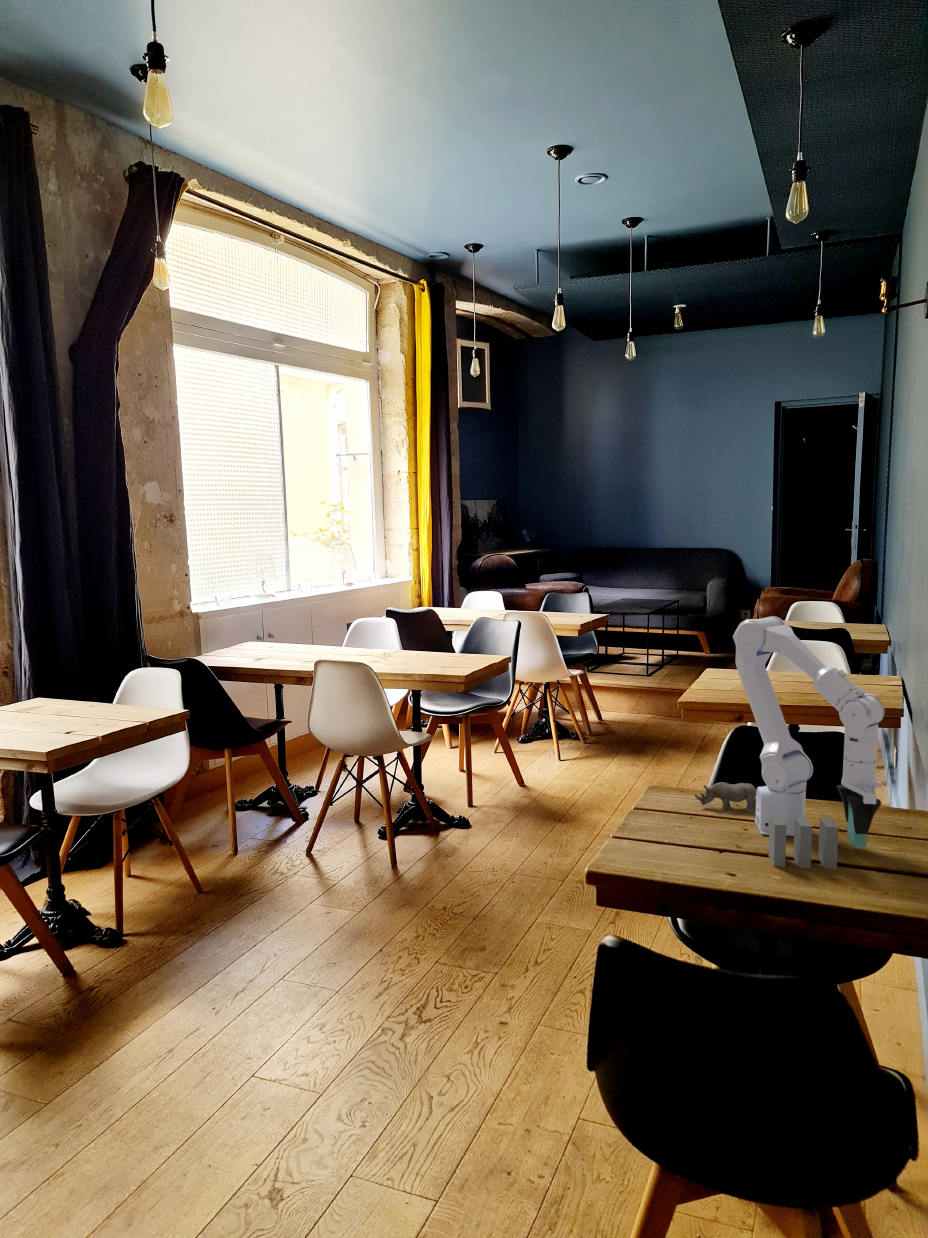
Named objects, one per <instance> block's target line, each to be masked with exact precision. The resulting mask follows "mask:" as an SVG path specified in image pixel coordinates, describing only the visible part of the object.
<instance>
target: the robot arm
mask: <svg viewBox="0 0 928 1238" xmlns="http://www.w3.org/2000/svg"><path fill="white" fill-rule="evenodd" d="M732 638H733V641H734V644H735V666H736V670H737V673H738V675H739V678H740V681H741V683H742V686H743V689H744V692H745V695H746V698H747V700H748V703H749V707H750V709H751V711H752V714H753V717H754V720H755V723H756V726H757V728H758V731H759V734H760V736H761V739H762V742H763V748H762V750H761V753H760V755H759V759H760V762H761V777H762V779H763V781H764V783H765V784H766V785H763V786H758V787H757V788H756V797H755V798H756V809H755V817H754V818H755V819H754V822H755V825H756V827H757V828H758V830H759V833H760V835H763V836H764V835H765V836H769V824H770V816H781V817H782V819H783V821H784V822H785V824H786V837H787V836H789V837H794V823H795V816H796V817H806V793H807V792H806V791H807V781H808V780H810V779H811V777H812V776H813V772H814V766H813V762H812V760H811V759H810V758H809V756H808V755H807V754H806V753H805V752H804V750H803V747H802V744H800V743H799V742H798V741H796V740H795V739H793V737H792V736H791V734H790V731H789V728H788V725H787V723H786V720H785V718H784V715H783V711H782V709H781V706H780V704H779V701H778V698H777V695H776V693H775V690H774V687H773V684H772V682H771V679H770V677H769V674H768V671H767V668H766V663H767V661H768V660H769V658H770V656H771V655H772V654H773V653H774V654H782V655H783V656H785V657H786V658H787V659H788V660H789V661H791V662H792V663H793V664H794V665H796V666H797V667H798V668H799V669H800V670H801V671H803V672H804V673H805V674H806V675H807V676H808V677H810V678H811V679H812V682H813V688H814V690H815V691H817V693H818V694H819V695H820V696H821V697H823V699H825V700H826V701H827V702H828V703H829V704H830V705H831V706H832V707H834V709H836V711H838V714H839V715H838V716H839V719H840V720H839V721H841V723H842V725H843V727H844V743H843V764H842V766H843V767H842V778H841V784H838V785H836V788H837V789H838V792H839V795H840V797H841V800H842V805H843V809H844V810H843V811H844V816H845V819H846V823H847V824H848V805H849V804H850V806H851V810H852V815H853V824H854V830H855V833H856V834H866V835H868V834H869V831H870V828H871V824H872V821H873V819H874V816H875V814H876V812H877V811H878V810H879V808H880V807H881V806H882V801H881V800H880V799H879V798H877V793H876V792H877V788H882V787H883V782H882V781H880V780H876V779H877V764H878V763H877V759H878V741H879V740H878V739H879V738H878V737H879V724H878V723H881V721H882V720H883V719H884V716H885V713H886V712H885V706H884V705H883V703H882V701H881V700H880V699H879V697H878V696H877V695H874V694H871V693H866V691H865V690H864V689H863V688H859V687H858V686H857V685H856V684H854V682H853V681H852V680H850V679H849V678H848V677H847V676H846V675H847V672H846V671H844V669H838V668H837V667H827V666H826V665H825V664H824V663H823V662H822V661H821V660H820V659H819V658H818V657H817V656H816V655H815V654H814V653H813V652H812V651H811V650H810V649H809V648H808V647H807V646H806V645H805V644H804V643H803V642H802V640H801V639H800V638H799V637H798V636H797V635H796V634H795V633H794V631H793V628H792V627H791V626H789V625H788V624H786V623H785V621H784V620H783V619H782V618H780V617H778V616H775V615H772V616H771V615H770V616H767V617H762V618H755V619H745V620H742V621H741V622H740V623H739V624H738V626H737V628H736V630H735V631H734V633H733V635H732Z"/></svg>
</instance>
